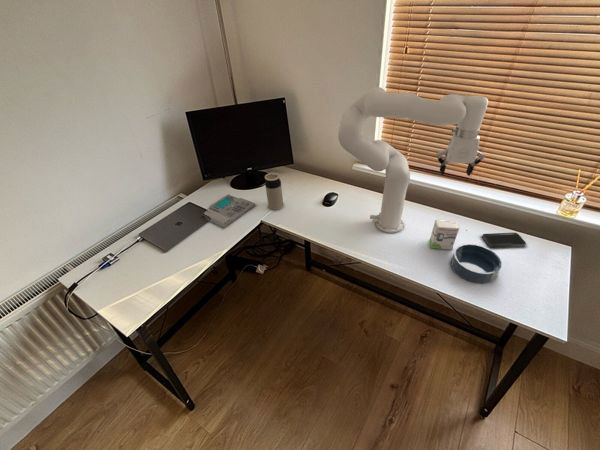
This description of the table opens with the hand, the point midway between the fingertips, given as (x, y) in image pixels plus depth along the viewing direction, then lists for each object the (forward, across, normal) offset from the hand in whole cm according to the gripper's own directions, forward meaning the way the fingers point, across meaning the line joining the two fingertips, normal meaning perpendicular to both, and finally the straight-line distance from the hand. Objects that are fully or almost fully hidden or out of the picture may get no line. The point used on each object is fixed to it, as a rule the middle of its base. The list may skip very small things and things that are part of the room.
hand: (454, 173), depth 122 cm
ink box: (+28, -1, -12) cm, 31 cm away
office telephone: (+28, -105, +2) cm, 109 cm away
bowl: (+28, +9, -24) cm, 38 cm away
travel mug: (+28, -80, +9) cm, 85 cm away
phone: (+28, +25, -6) cm, 38 cm away
